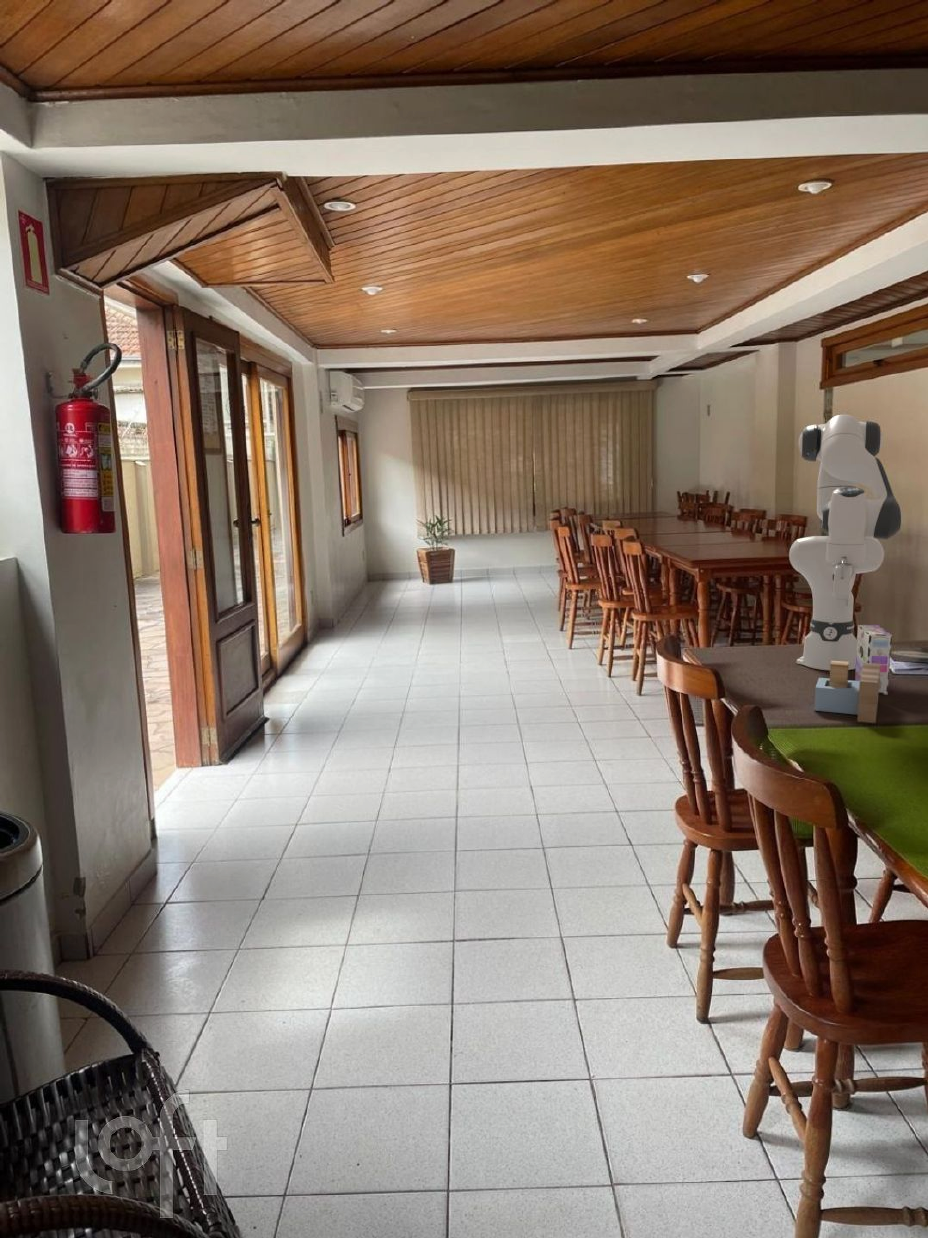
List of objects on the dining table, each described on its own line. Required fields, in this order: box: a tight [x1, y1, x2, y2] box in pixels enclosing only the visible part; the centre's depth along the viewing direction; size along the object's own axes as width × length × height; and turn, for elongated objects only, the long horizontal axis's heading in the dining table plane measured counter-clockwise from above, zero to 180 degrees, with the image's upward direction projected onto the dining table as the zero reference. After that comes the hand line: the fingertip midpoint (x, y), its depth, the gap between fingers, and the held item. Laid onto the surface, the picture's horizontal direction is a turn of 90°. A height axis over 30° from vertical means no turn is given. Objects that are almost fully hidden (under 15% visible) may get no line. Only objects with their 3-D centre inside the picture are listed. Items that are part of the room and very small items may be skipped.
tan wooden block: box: [829, 661, 849, 688], centre depth 226 cm, size 4×4×10 cm
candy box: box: [854, 624, 893, 696], centre depth 243 cm, size 14×6×16 cm, turn 168°
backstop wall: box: [856, 662, 880, 724], centre depth 223 cm, size 20×4×10 cm, turn 154°
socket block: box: [814, 677, 860, 716], centre depth 227 cm, size 10×10×6 cm
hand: (842, 609), depth 223 cm, fingers open, 8 cm apart
